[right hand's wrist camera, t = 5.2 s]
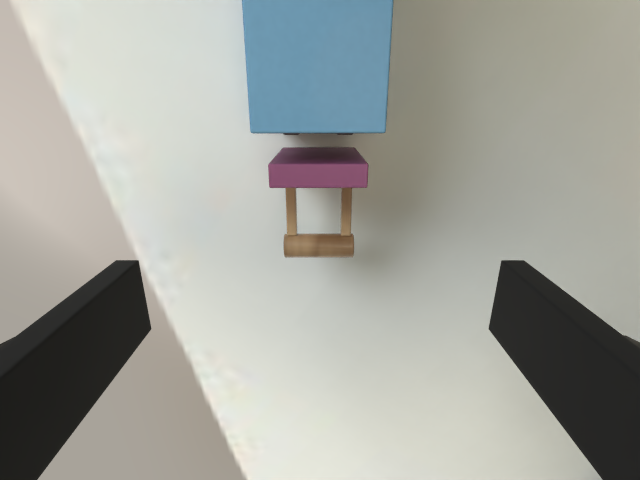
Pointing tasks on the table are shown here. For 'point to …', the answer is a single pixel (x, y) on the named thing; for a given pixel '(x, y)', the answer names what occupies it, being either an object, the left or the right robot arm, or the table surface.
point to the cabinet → (317, 65)
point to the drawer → (318, 172)
